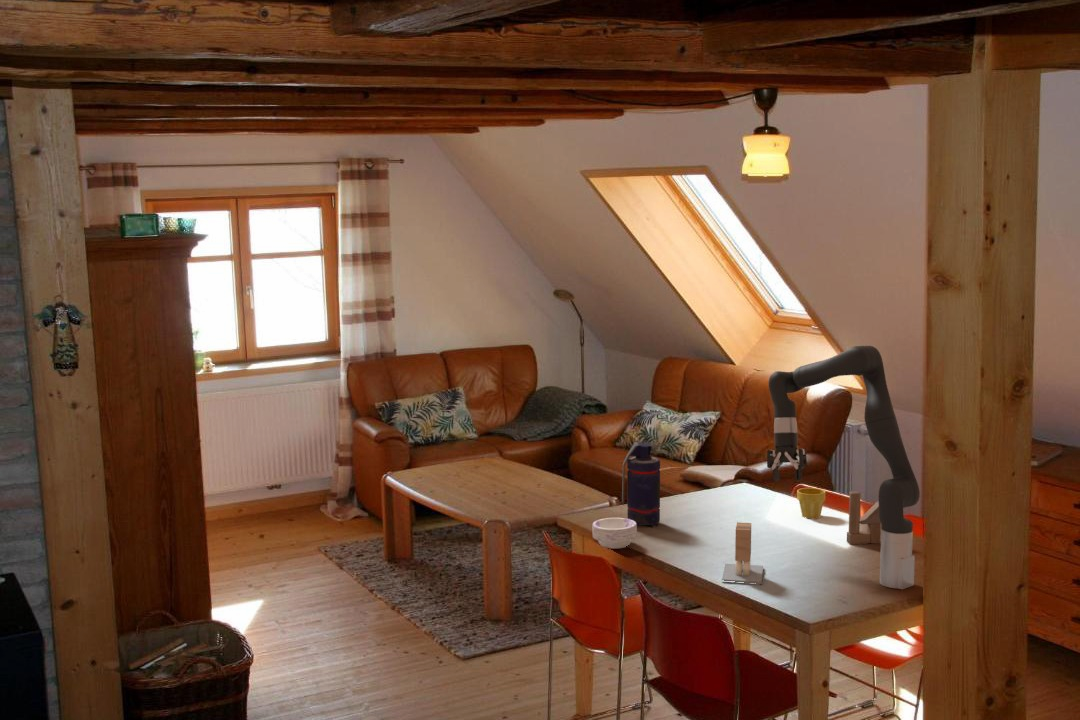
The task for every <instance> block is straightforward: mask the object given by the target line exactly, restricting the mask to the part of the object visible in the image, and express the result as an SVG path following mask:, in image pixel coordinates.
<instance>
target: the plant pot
mask: <svg viewBox="0 0 1080 720" xmlns="http://www.w3.org/2000/svg"><path fill="white" fill-rule="evenodd" d="M796 491H797V492H796V498H797V500H798V501H799V507H800V512H801V516H802V517H803V518H805V517H806V518H805V519H811V518H814V519H819V518H820V517H821V514H822V510H823V506H824V502H825V501H826V496H827V495H826V490H824V489H822V488H816V487H802V488H798V489H797V490H796Z"/></svg>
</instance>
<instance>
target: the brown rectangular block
mask: <svg viewBox="0 0 1080 720" xmlns="http://www.w3.org/2000/svg"><path fill="white" fill-rule="evenodd" d="M734 541H735V551H734V552H735V553H734V561H735V562H736V561H750V557H751V554H752V522H736V526H735V540H734Z"/></svg>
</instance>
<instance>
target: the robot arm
mask: <svg viewBox="0 0 1080 720" xmlns="http://www.w3.org/2000/svg"><path fill="white" fill-rule="evenodd" d="M884 367H885V366H884V361H883V358H882V355H881V353H880V351H879V350H878V348H877V347H874V346H872V345H855V346H852V347H849V348H847V349H846V350H844V351H842V352H840V353H837V354H836V355H833V356H832V357H829V358H826V359H824V360H820V361H815V362H812V363H811V362H810V363H808V364H805V365H802V366H801V365H800V366H798V367H797V368H795V369H794V370H793V371H781V370H780V371H779V370H778V371H774V372H772V374H770V376H769V378H768V390H769V394H770V398H771V401H772V404H773V411H774V412H773V413H774V414H773V415H774V417H773V418H774V423H773V434H774V436H773V438H774V439H773V442H774V447H775V449H768V450H767V452H766V453H767V454H766V456H767V457H766V462H767V463H766V467H767V468H768V469H771V471H772V479H773V482H779V481H780V470H779V469H780V467H781V466H782V465H783V464H784V463H785V464H786V463H790V464H791V465H793V467H794V479H795V480H794V481H795V482H801V481H802V479H803V475H802V474H803V472H802V471H803V469H804V468H807V467H808V460H807V458H808V457H807V450H806V448H799V449H798V445H799V443H798V436H799V435H798V423H797V408H796V403H795V401H793V400H792V399H791V398H789V395H788V394H793V393H797V392H799V391H801V390H803V389H805V388H808V387H812V386H815V385H819V384H822V383H824V382H827V381H829V380H830V379H832V378H836V377H843V376H858V377H859V376H862V379H863V382H864V387H865V389H866V403H865V407H864V416H863V417H864V422H865V427H866V430H867V434H868V437H869V439H870V441H871V443H872V444H873V446H874V448H875V449H876V450H877V451H878V452H879V453H880V455H881V456H882V457H883V458H884V459H885V460H886V462H887V464H888V466H889V469H890V472H891V475H892V478H890V479H889V478H888V479H885V480H883V481H882V483H881V484H880V485H879V489H878V502H879V518H880V522H881V523H880V524H881V532H880V555H879V584H880V585H881V586H883V587H886V588H890V589H898V590H904V589H907V588H908V589H909V588H911V587H914V585H915V565H916V564H915V563H916V562H915V560H916V559H915V558H916V557H915V556H916V555H913V535H914V532H913V531H914V523H913V521H912V520H911V519H909V518H907V517H904V508H909V507H913V506H915V505H917V503H918V502H919V500H920V498H921V497H920V495H921V493H920V487H919V483H918V481H917V478H916V476H915V473H914V471H913V468H912V466H911V463H910V461H909V460H910V459H909V458H908V455H907V452H906V449H905V445H904V442H903V439H902V436H901V432H900V427H899V424H898V421H897V417H896V414H895V410H894V407H893V403H892V400H891V396H890V393H889V389H888V384H887V380H886V379H887V378H886V374H885V368H884ZM775 456H776V458H775Z"/></svg>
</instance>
